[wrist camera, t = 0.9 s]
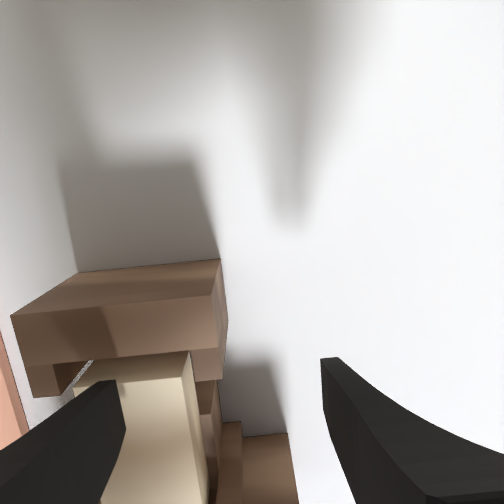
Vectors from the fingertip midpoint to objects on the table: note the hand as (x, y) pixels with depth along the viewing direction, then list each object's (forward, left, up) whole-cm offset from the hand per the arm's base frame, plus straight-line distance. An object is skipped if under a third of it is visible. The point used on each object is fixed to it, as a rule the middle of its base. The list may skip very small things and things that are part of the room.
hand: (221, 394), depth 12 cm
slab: (-3, +4, -3) cm, 6 cm away
